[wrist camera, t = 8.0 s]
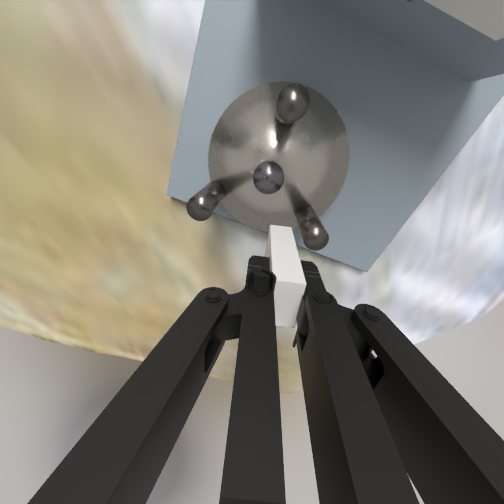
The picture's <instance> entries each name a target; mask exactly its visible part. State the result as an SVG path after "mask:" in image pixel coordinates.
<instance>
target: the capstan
mask: <svg viewBox="0 0 504 504" xmlns="http://www.w3.org/2000/svg"><path fill="white" fill-rule="evenodd" d="M349 158H350V153H349V141H348V135H347V132H346V128H345V125H344V123H343V121H342V119H341V117H340V115H339V113H338V112H337V110H336V109H335V107H334V106H333V105H332V104H331V103H330V102H329V101H328V100H327V99H326V98H325V97H324V96H323V95H321V94H320V93H319V92H317V91H315V90H314V89H312V88H310V87H307V86H305V85H302V84H299V83H294V82H284V81H278V82H269V83H266V84H262V85H259V86H256V87H254V88H252V89H250V90H248V91H246V92H245V93H243V94H242V95H240V96H239V97H238V98H237V99H235V100H234V101H233V102H232V103H231V104H230V105H229V106H228V108H227V109H226V110H225V111H224V113H223V114H222V116H221V117H220V119H219V120H218V122H217V124H216V126H215V128H214V131H213V134H212V137H211V140H210V145H209V152H208V169H209V175H210V180H211V182H210V183H208V184H207V185H206V186H205V187H204V188H202V189H201V190H200V191H199V192H198V193H196V194H195V195H194V196H193V197H192V198H190V199H189V201H188V202H187V212H188V214H189V215H190V216H191V217H192V218H193V219H195V220H197V221H204V220H207V219H208V218H209V217H210V216H211V214H212V213H213V211H214V210H215V209H216V207H217V206H218V204H219V203H220V202H221V204H222V205H223V206H224V208H225V209H226V210H227V211H228V212H229V213H230V214H231V215H232V216H233V217H235V218H236V219H237V220H238V221H240V222H242V223H243V224H245V225H247V226H249V227H251V228H255V229H258V230H262V231H267V232H269V228H270V225H278V226H286V227H291V228H292V230H294V229H297V228H299V229H300V232H301V235H302V238H303V242H304V244H305V246H306V247H307V248H308V249H310V250H313V251H317V250H321V249H323V248H324V247H325V246H326V245H327V244H328V241H329V235H328V233H327V231H326V230H325V228H324V226H323V225H322V223H321V221H320V219H319V218H318V217H319V216H320V215H322V214H323V213H324V212H325V211H326V210H327V209H328V208H329V207H330V205H331V204H332V203H333V202H334V200H335V199H336V197H337V196H338V194H339V192H340V190H341V188H342V186H343V184H344V181H345V179H346V175H347V171H348V167H349Z"/></svg>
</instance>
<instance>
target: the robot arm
mask: <svg viewBox="0 0 504 504" xmlns="http://www.w3.org/2000/svg"><path fill="white" fill-rule="evenodd" d="M296 320H297V326H298V328H297V331H296V335H295V338H294V342H293V347H295V345H296V343H297V349H298V356H299V363H300V370H301V377H302V384H303V391H304V398H305V405H306V411H307V419H308V425H309V432H310V439H311V446H312V453H313V460H314V467H315V474H316V481H317V488H318V494H319V502H320V504H419V502H418V499H417V497H416V494H415V492H414V490H413V487H412V485H411V482H410V480H409V477H410V479H411V481H412V482H413V484H414V486H415V488H416V489H417V491H418V493H419V495H420V496H421V498H422V500H423V502H424V503H425V504H504V441H503V440H502V438H501V437H500V436H499V435H498V434H497V433H496V432H495V431H494V430H493V429H492V428H491V427H490V426H489V425H488V424H487V423H486V422H485V420H484V419H483V418H482V417H481V416H480V415H479V414H478V413H477V412H476V411H475V410H474V409H473V408H472V406H470V405H469V403H468V402H467V401H466V400H465V399H464V398H463V397H462V396H461V395H460V394H459V393H458V392H457V391H456V389H454V387H453V386H452V385H451V384H450V383H448V381H447V380H446V379H445V378H444V377H443V376H442V375H441V373H440V372H439V371H438V370H437V369H436V368H435V367H434V366H433V365H432V364H431V363H430V362H429V361H428V360H427V359H426V358H425V357H424V355H423V354H422V353H421V352H420V351H419V350H418V349H417V348H416V347H415V346H414V345H413V344H412V343H411V342H410V340H409V339H408V338H407V337H406V336H405V335H404V334H403V333H402V332H401V331H400V330H399V329H398V328H397V327H396V326H395V325H394V323H393V322H392V321H391V320H390V319H389V318H388V317H387V316H386V315H385V314H384V313H383V312H382V311H381V310H379V309H378V308H376V307H374V306H371V305H368V304H359V305H357V306H356V307H355V309H354V310H353V309H350V308H347V307H344V306H341V305H339V304H337V301H336V299H335V298H334V296H333V295H331V294H330V293H328V292H326V289H325V287H324V284H323V281H322V279H321V276H320V273H319V271H318V268H317V266H316V265H315V264H314V263H313V262H309V261H301V260H300V258H299V254H298V250H297V247H296V243H295V239H294V235H293V231H292V228H291V227H286V226H278V225H270V228H269V234H268V241H267V247H266V254H265V257H262V256H252V257H251V258H250V259H249V262H248V270H247V277H246V285H245V288H244V289H243V290H242V291H241V292H239V293H236V294H229V295H228V293H227V292H226V291H225V290H223V289H221V288H217V287H210V288H206V289H203V290H202V291H201V292H199V294H198V295H197V296H196V297H195V298H194V300H193V301H192V302H191V303H190V305H189V306H188V307H187V308H186V310H185V311H184V312H183V313H182V314H181V316H180V317H179V318H178V319H177V321H176V322H175V323H174V324H173V325H172V327H171V328H170V329H169V330H168V332H167V333H166V334H165V335H164V337H163V338H162V339H161V340H160V341H159V343H158V344H157V345H156V346H155V348H154V349H153V350H152V351H151V353H150V354H149V355H148V356H147V357H146V359H145V360H144V361H143V362H142V364H141V365H140V366H139V367H138V369H137V370H136V371H135V372H134V373H133V375H132V376H131V377H130V379H129V380H128V381H127V382H126V383H125V384H124V386H123V387H122V388H121V389H120V391H119V392H118V393H117V394H116V396H115V397H114V398H113V399H112V401H111V402H110V403H109V404H108V405H107V407H106V408H105V409H104V410H103V411H102V413H101V414H100V415H99V416H98V418H97V419H96V420H95V421H94V423H93V424H92V425H91V426H90V427H89V429H88V430H87V431H86V432H85V434H84V435H83V436H82V437H81V439H80V440H79V441H78V442H77V443H76V445H75V446H74V447H73V448H72V450H71V451H70V452H69V453H68V455H67V456H66V457H65V458H64V459H63V461H62V462H61V463H60V464H59V466H58V467H57V468H56V469H55V470H54V472H53V473H52V474H51V475H50V477H49V478H48V479H47V480H46V482H45V483H44V484H43V485H42V486H41V488H40V489H39V490H38V491H37V493H36V494H35V495H34V496H33V497H32V499H31V500H30V501H29V503H28V504H146V502H147V500H148V498H149V495H150V494H151V492H152V490H153V487H154V485H155V483H156V481H157V479H158V477H159V475H160V473H161V471H162V469H163V467H164V465H165V463H166V461H167V459H168V457H169V455H170V453H171V451H172V449H173V447H174V445H175V443H176V441H177V439H178V437H179V435H180V433H181V430H182V429H183V427H184V424H185V423H186V421H187V419H188V416H189V414H190V412H191V410H192V408H193V406H194V404H195V402H196V400H197V398H198V396H199V394H200V392H201V390H202V388H203V386H204V384H205V382H206V380H207V378H208V376H209V374H210V372H211V370H212V368H213V366H214V364H215V362H216V360H217V358H218V356H219V354H220V352H221V350H222V348H223V345H224V343H225V340H231V339H237V338H239V343H238V352H237V360H236V368H235V376H234V385H233V393H232V401H231V410H230V418H229V427H228V435H227V443H226V451H225V459H224V467H223V476H222V484H221V493H220V501H219V504H286V500H285V482H284V464H283V446H282V429H281V413H280V412H281V411H280V393H279V376H278V358H277V341H276V326H284V327H293V328H294V327H295V324H296ZM372 350H374V352H375V353H376V354H377V358H375V357H374V356H373V354H372V353H371V352H372ZM407 474H408V475H407ZM408 476H409V477H408Z"/></svg>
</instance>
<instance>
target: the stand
mask: <svg viewBox="0 0 504 504" xmlns="http://www.w3.org/2000/svg"><path fill="white" fill-rule="evenodd" d="M278 81H284V82H294V83H299V84H302V85H305V86H307V87H310V88H312V89H314V90H315V91H317V92H319V93H320V94H321V95H323V96H324V97H325V98H326V99H327V100H328V101H329V102H330V103H331V104H332V105H333V106H334V107H335V109H336V110H337V112H338V113H339V115H340V117H341V119H342V121H343V123H344V125H345V128H346V132H347V135H348V141H349V153H350V158H349V167H348V171H347V175H346V179H345V181H344V184H343V186H342V188H341V190H340V192H339V194H338V196H337V197H336V199H335V200H334V202H333V203H332V204H331V205H330V207H329V208H328V209H327V210H326V211H325V212H324V213H323V214H322V215H320V216H319V217H318V218H319V219H320V221H321V223H322V225H323V226H324V228H325V230H326V231H327V233H328V235H329V241H328V244H327V245H326V246H325V247H324V248H323V249H321V250H317V251H313V250H311V251H313V252H316V253H319V254H321V255H324V256H326V257H329V258H332V259H334V260H337V261H339V262H342V263H344V264H347V265H350V266H352V267H355V268H357V269H360V270H363V271H365V272H368V270H369V269H370V268H371V266H372V265H373V264H374V262H375V261H376V260H377V259H378V257H379V256H380V255H381V253H382V252H383V251H384V250H385V248H386V247H387V246H388V244H389V243H390V242H391V240H392V239H393V238H394V237H395V235H396V234H397V233H398V231H399V230H400V229H401V227H402V226H403V225H404V224H405V222H406V221H407V220H408V218H409V217H410V216H411V214H412V213H413V212H414V211H415V209H416V208H417V207H418V205H419V204H420V203H421V201H422V200H423V199H424V198H425V196H426V195H427V194H428V192H429V191H430V190H431V188H432V187H433V186H434V185H435V183H436V182H437V181H438V179H439V178H440V177H441V175H442V174H443V173H444V172H445V170H446V169H447V168H448V166H449V165H450V164H451V162H452V161H453V160H454V159H455V157H456V156H457V155H458V153H459V152H460V151H461V149H462V148H463V147H464V146H465V144H466V143H467V142H468V140H469V139H470V138H471V136H472V135H473V134H474V133H475V131H476V130H477V129H478V127H479V126H480V125H481V123H482V122H483V121H484V120H485V118H486V117H487V116H488V114H489V113H490V112H491V110H492V109H493V108H494V107H495V105H496V104H497V103H498V101H499V100H500V99H501V97H502V96H503V95H504V0H205V5H204V10H203V15H202V20H201V25H200V30H199V35H198V40H197V45H196V50H195V55H194V60H193V65H192V70H191V75H190V80H189V85H188V90H187V95H186V100H185V105H184V110H183V115H182V120H181V125H180V130H179V135H178V140H177V145H176V150H175V155H174V160H173V165H172V170H171V175H170V180H169V185H168V190H167V195H169V196H171V197H174V198H176V199H179V200H181V201H184V202H188V201H189V199H190V198H192V197H193V196H194V195H195V194H196V193H198V192H199V191H200V190H201V189H202V188H204V187H205V186H206V185H207V184H208V183H210V182H211V180H210V175H209V169H208V152H209V145H210V140H211V137H212V134H213V131H214V128H215V126H216V124H217V122H218V120H219V119H220V117H221V116H222V114H223V113H224V111H225V110H226V109H227V108H228V106H229V105H230V104H231V103H232V102H233V101H234V100H235V99H237V98H238V97H239V96H240V95H242V94H243V93H245V92H246V91H248V90H250V89H252V88H254V87H256V86H259V85H262V84H266V83H269V82H278ZM213 213H215V214H218V215H220V216H223V217H225V218H228V219H231V220H233V221H236V222H238V223H241V224H243V223H242V222H240V221H238V220H237V219H236V218H235V217H233V216H232V215H231V214H230V213H229V212H228V211H227V210H226V209H225V208H224V206H223V205H222V204H221V202H220V203H219V204H218V206H217V207H216V209H215V210H214V211H213ZM244 225H245V224H244ZM246 226H247V225H246ZM254 229H255V228H254ZM256 230H258V229H256ZM259 231H262V230H259ZM292 231H293V235H294V239H295V243H296V245H298V246H300V247H303V248H306V249H308V248H307V247H306V246H305V244H304V242H303V238H302V235H301V232H300V229H299V228H297V229H294V230H292ZM262 232H264V233H267V234H269V232H267V231H262ZM308 250H310V249H308Z"/></svg>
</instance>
